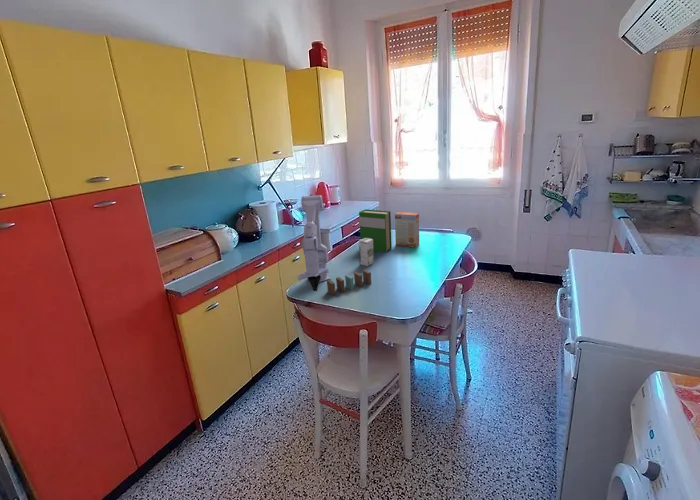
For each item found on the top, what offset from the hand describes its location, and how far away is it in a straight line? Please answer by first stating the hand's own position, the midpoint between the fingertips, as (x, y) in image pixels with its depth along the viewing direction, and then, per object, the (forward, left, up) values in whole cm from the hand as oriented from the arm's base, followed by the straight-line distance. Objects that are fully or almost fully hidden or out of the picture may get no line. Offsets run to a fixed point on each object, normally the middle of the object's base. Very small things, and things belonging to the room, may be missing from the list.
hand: (315, 290), depth 169 cm
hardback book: (-39, +59, -4) cm, 71 cm away
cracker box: (-32, +78, -4) cm, 85 cm away
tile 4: (0, +28, -4) cm, 28 cm away
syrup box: (-21, +41, -4) cm, 46 cm away
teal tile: (0, +18, -4) cm, 19 cm away
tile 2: (0, +13, -4) cm, 14 cm away
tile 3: (0, +23, -4) cm, 24 cm away
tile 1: (0, +8, -4) cm, 9 cm away
